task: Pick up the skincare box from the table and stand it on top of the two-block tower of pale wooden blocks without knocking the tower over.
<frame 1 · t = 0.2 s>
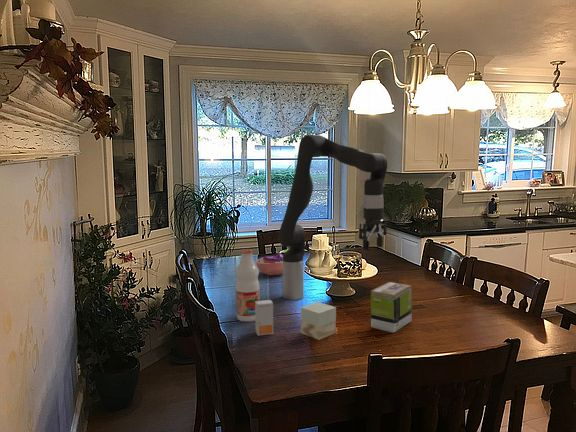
hand: (372, 248, 185), 29 cm above the table, tool pointing down, fingers open, 8 cm apart
cell model: (274, 274, 263), on the table
upper block: (318, 320, 177), point 5 cm above the table, touching lower block
fruit juice: (248, 318, 195), on the table
skincare box: (264, 333, 179), on the table
tea box: (391, 325, 185), on the table
lower block: (318, 333, 178), on the table, touching upper block
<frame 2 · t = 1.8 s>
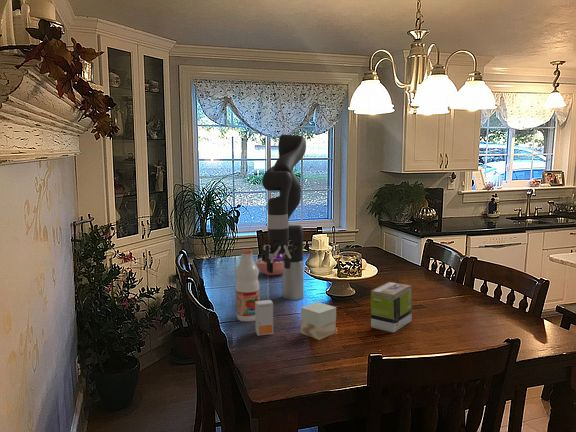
hand: (278, 270, 176), 23 cm above the table, tool pointing down, fingers open, 8 cm apart
nothing on the table moved.
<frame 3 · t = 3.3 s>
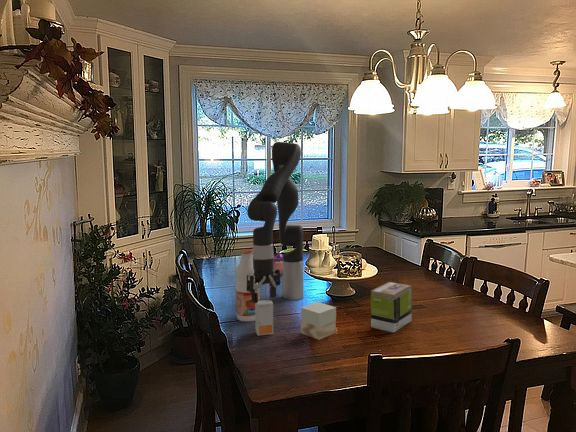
hand: (264, 299, 177), 13 cm above the table, tool pointing down, fingers open, 8 cm apart
nothing on the table moved.
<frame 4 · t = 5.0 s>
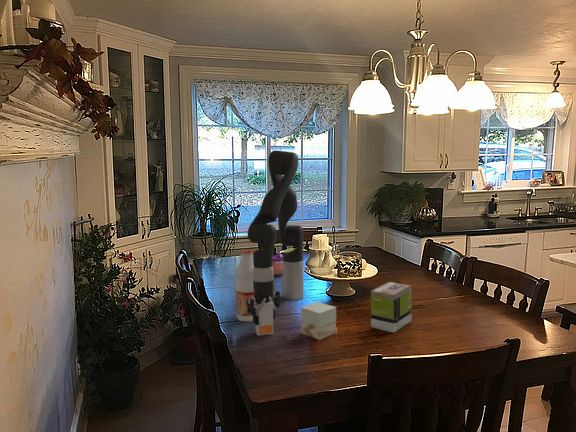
hand: (264, 321, 178), 4 cm above the table, tool pointing down, fingers closed on skincare box, 7 cm apart
skincare box: (264, 333, 179), on the table, touching gripper
everything else where it was.
when the fingers open (15 cm above the table, at t = 14.2 s): skincare box drops 1 cm, resting on upper block.
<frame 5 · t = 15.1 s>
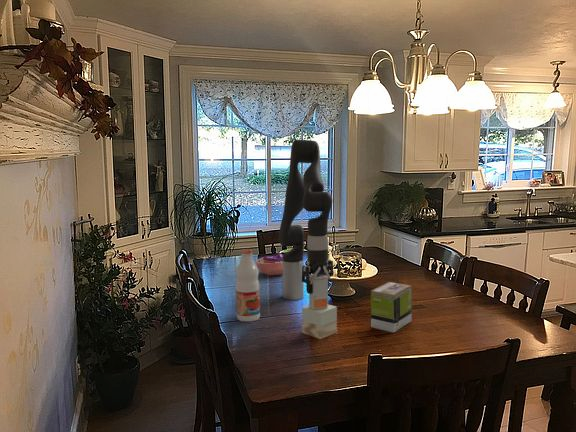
hand: (318, 290, 176), 16 cm above the table, tool pointing down, fingers open, 8 cm apart
upper block: (319, 320, 178), point 5 cm above the table, touching lower block, skincare box
skincare box: (318, 307, 177), point 9 cm above the table, touching upper block
everything else where it was.
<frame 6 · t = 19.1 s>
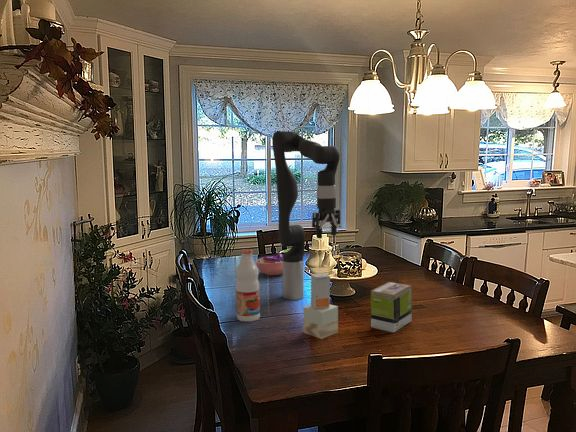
hand: (326, 236, 194), 32 cm above the table, tool pointing down, fingers open, 8 cm apart
at the end: skincare box inside the target area on the lower block (0.1 cm from its centre), point 9.8 cm above the lower block's base; skincare box tilted 0°; upper block 0.2 cm off-centre on the lower block, point 5.0 cm above the lower block's base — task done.
